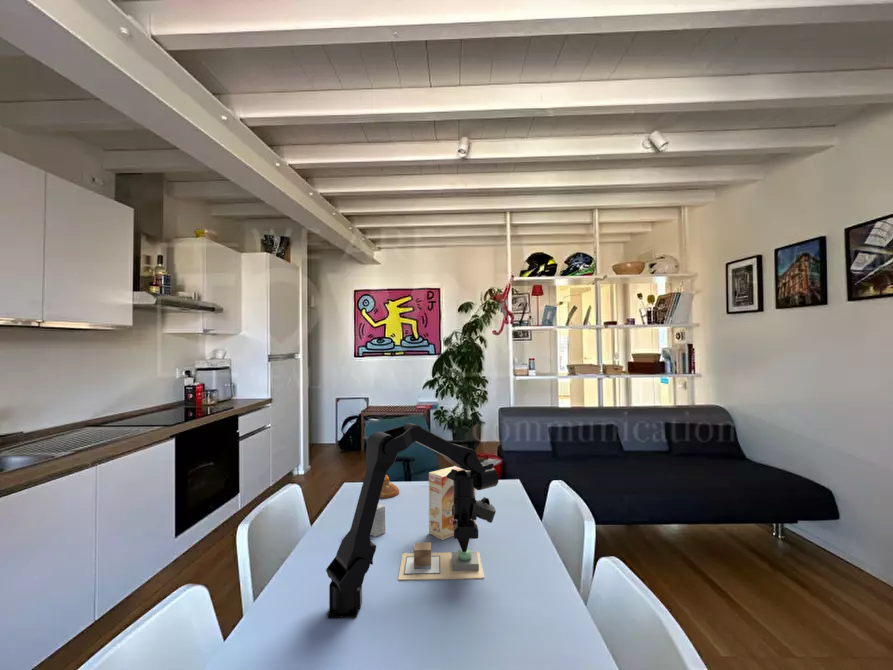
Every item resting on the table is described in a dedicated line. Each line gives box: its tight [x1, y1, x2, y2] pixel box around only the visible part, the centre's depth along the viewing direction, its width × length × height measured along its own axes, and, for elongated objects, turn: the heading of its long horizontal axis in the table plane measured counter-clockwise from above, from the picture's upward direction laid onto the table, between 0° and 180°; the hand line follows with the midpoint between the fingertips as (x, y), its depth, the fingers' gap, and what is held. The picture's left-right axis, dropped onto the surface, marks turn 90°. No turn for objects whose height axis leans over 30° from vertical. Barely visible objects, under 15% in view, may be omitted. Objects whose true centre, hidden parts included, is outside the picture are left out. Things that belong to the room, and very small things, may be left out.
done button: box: [457, 547, 472, 560], centre depth 118 cm, size 4×4×4 cm
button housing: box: [451, 551, 479, 571], centre depth 118 cm, size 7×7×2 cm
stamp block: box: [413, 541, 432, 569], centre depth 118 cm, size 4×4×5 cm
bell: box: [379, 474, 400, 500], centre depth 177 cm, size 12×12×7 cm
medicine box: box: [370, 503, 386, 538], centre depth 140 cm, size 8×4×9 cm, turn 47°
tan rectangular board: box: [397, 551, 485, 581], centre depth 118 cm, size 22×14×1 cm, turn 91°
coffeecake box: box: [428, 465, 477, 541], centre depth 141 cm, size 15×7×20 cm, turn 131°
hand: (464, 551), depth 118 cm, fingers closed, pressing on done button
